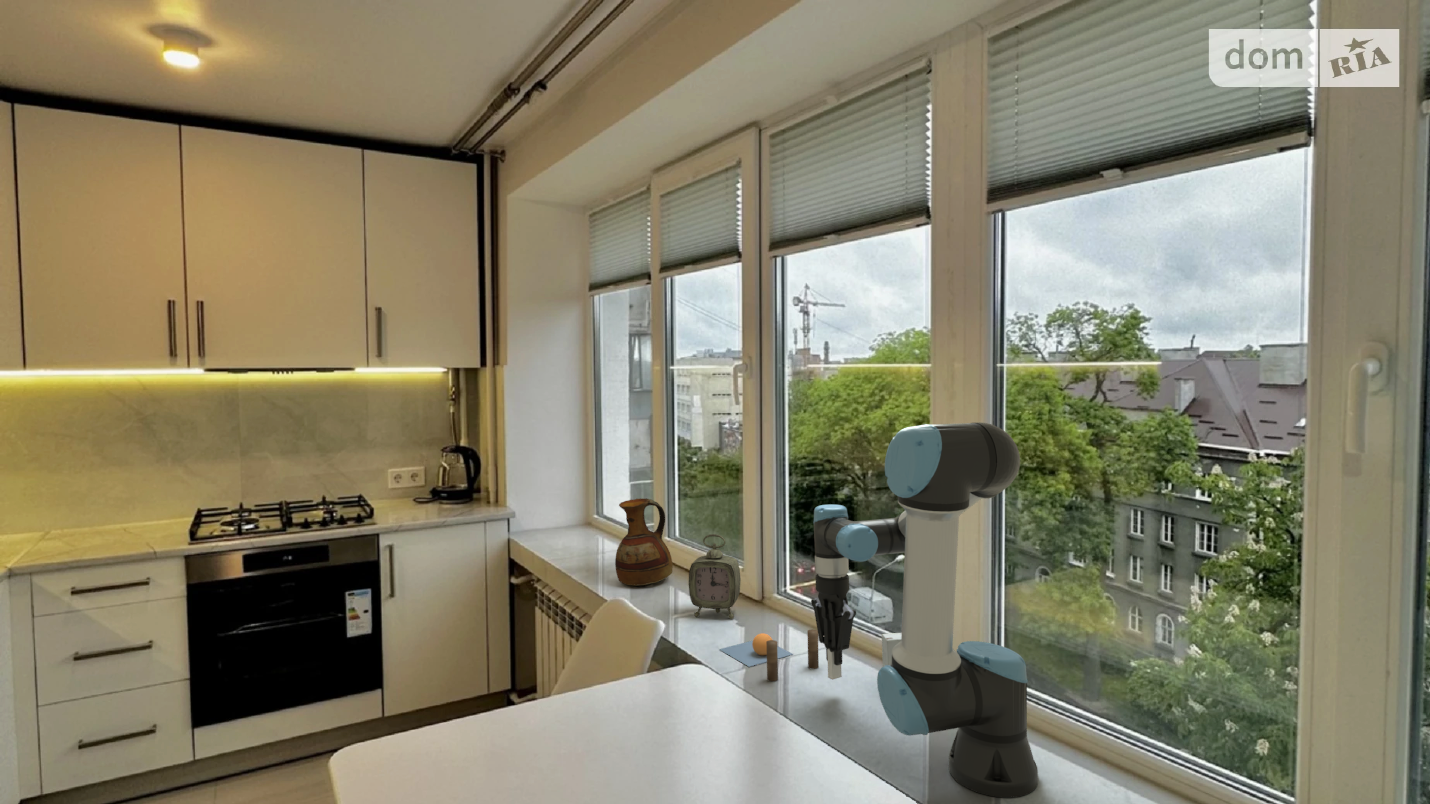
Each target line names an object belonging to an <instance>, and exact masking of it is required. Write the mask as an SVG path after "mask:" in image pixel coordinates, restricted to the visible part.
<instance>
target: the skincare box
mask: <svg viewBox="0 0 1430 804" xmlns="http://www.w3.org/2000/svg"><path fill="white" fill-rule="evenodd" d="M901 635H902V632H895V633H881V649H882V650H881V653H882V654H881V656H882V657H881V658H882V667H884V666H885V665H891V663H892V649H893V648H894V646H895V645H897V644H898V643H900V642H901Z"/></svg>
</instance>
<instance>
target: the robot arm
mask: <svg viewBox="0 0 1430 804" xmlns="http://www.w3.org/2000/svg"><path fill="white" fill-rule="evenodd" d="M1020 464H1021V456H1020V451H1019V449H1018V445H1017V444H1016V442H1015V440H1014V439H1013V438H1012V436H1010V434H1009V433H1008V432H1006V431H1005V430H1004V429H1002V428H1000V427H998V426H996V425H994V424H992V423H988V422H970V423H969V422H967V423H962V422H961V423H939V424H938V423H934V424H928V423H927V424H926V423H923V424H921V425H915V426H908V427H905V428H902V429H901V430H899V431H898V432H896V434H895V436H893V437H892V439H891V441H890V443H889V444H888V447H887V451H886V454H885V459H884V474H885V477H886V478H887V479H886V484H887V486H888V488H889V489H890V491H891V492H892V493H893V494H894V495H895V496H897V503H898V504H899V506H900V507H902V509H904V511H902V513H899V515H897V516H896V517H891V518H881V519H879V518H878V519H869V520H857V521H855V520H854V521H853V520H850V519H849V514H848V509H847V507H846V506H844V505H841V504H822V505H818V506H816V507H815V508H814V510H813V523H812V524H813V534H814V535H813V538H814V572H815V573H816V575H815V578H814V579H815V591H816V592H818V594H817V597H816V598H813V599H811V600H810V603H811V606H812V608H813V612H814V618H815V622H816V623H815V624H816V630H817V631H818V642H819V643H821V644H824V645H823V646H824V647H825V654H826V661H827V678H828V679H830V680H836V679H840V678H842V676H843V675H842V664H843V651H844V650H848V649H849V648H850V645H851V644H850V643H851V637H852V632H853V631H852V629H853V622H854V619H855V617H856V615H857V611H856V609H854V608H853V609H851V607H850V606H849V600H848V597H847V594H848V593H849V591H850V576H849V568H850V567H849V565H850V564H849V561H854V562H861V563H862V562H866V561H869V560H870V559H872V558H873V557H874V556H883V555H892V554H894V555H895V554H904V563H903V565H904V566H903V589H902V590H903V591H902V611H901V613H902V614H901V615H902V616H901V633H902V635H901V642H900V643H898V644H897V645H895V646H894V648H893V649H892V663H891V665H885V666H884V667H883V666H882V667H881V668H880V669H879V671H878V672H877V676H876V678H877V679H876V680H877V681H876V684H877V692H878V695H879V698H880V699H879V700H880V703H881V705H882V707H883V710H884V713H885V715H886V717H887V718H888V719H889V720H888V721H889V722H890V723H891V724H892V726H893V727H894V728H895V730H897V731H898V732H899V733H900V734H902V735H905V736H910V737H911V736H918V735H919V736H920V735H923V736H927V735H928V734H930V733H931V734H932V733H937V732H938V733H939V732H943V731H949V730H954V729H957V730H956V733H955V737H954V739H953V742H952V746H951V749H950V751H949V753H948V770H949V774H950V775H951V777H952V778H953V779H954V780H955V781H956V782H957V783H959V785H961V786H963V787H964V788H967V789H969V790H971V791H972V792H973V791H974V792H976V793H978V794H982V795H986V796H989V797H995V798H1018V797H1023V796H1026V795H1029V794H1031V793H1032V792H1033V791H1035V790H1036V788H1037V787H1038V784H1039V783H1038V782H1039V774H1038V773H1039V771H1038V765H1037V763H1036V761H1035V760H1034V755H1033V752H1032V749H1031V746H1030V743H1029V739H1028V728H1027V727H1028V718H1027V717H1028V715H1027V714H1028V711H1027V705H1028V702H1027V701H1028V682H1029V680H1028V675H1027V674H1028V673H1027V664H1026V662H1025V659H1024V658H1023V657H1022V656H1021V655H1020V654H1019V653H1018V652H1016V651H1014V650H1012V649H1010V648H1008V647H1005V646H1002V645H1000V644H995V643H991V642H985V641H979V640H978V641H977V640H967V641H962V642H960V643H959V644H958V645H957V649H956V650H955V649H954V648H953V644H954V642H953V641H954V627H955V626H954V623H955V604H956V602H955V601H956V584H957V581H956V579H957V566H958V565H957V564H958V562H957V561H958V543H959V542H958V541H959V527H960V526H959V525H960V524H959V523H960V517H961V515H962V514H963V513H965V512H966V511H967V510H969V509H970V508H971V507H973V506H974V505H975V504H976V503H978V502H979V501H981V500H982V499H983V500H989V499H992V498H994V497H996V496H997V495H999V494H1000V493H1002V492H1003V491H1004V490H1006V489H1007V488H1009V486H1010V485H1011V484H1012V483H1013V481H1015V479H1016V477H1017V475H1018V473H1019V471H1020V466H1021V465H1020Z"/></svg>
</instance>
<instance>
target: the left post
mask: <svg viewBox="0 0 1430 804" xmlns="http://www.w3.org/2000/svg"><path fill="white" fill-rule="evenodd" d="M766 645H767V662H766V679H767V681H769V682H776V681H778V680H779V665H778V664H779V663H778V662H779V661H778V660H779V659H778V653H777V646H778V641H777V640H774V639H772V640H769V641H767V642H766Z"/></svg>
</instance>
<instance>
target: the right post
mask: <svg viewBox="0 0 1430 804" xmlns="http://www.w3.org/2000/svg"><path fill="white" fill-rule="evenodd" d="M819 659H820V658H819V636H818V630H817V629H814V628H813V629H808V630H807V668H808V669H810V668H811V669H810V670H817V669H819V667H820V666H819V661H820V660H819Z"/></svg>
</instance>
